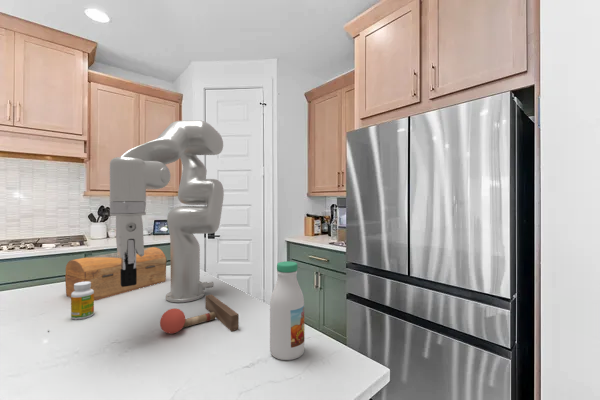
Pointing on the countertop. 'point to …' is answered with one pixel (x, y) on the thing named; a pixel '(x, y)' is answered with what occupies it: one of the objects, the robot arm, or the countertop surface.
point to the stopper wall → (223, 312)
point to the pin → (199, 319)
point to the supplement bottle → (82, 301)
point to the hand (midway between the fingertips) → (128, 285)
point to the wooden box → (115, 272)
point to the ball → (172, 321)
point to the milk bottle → (287, 314)
